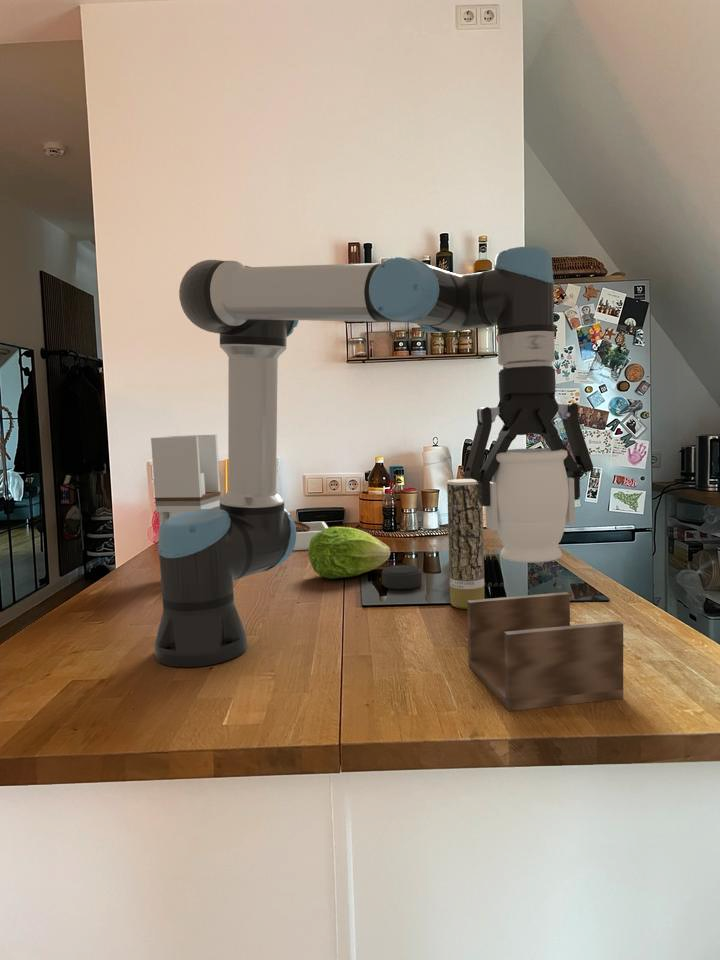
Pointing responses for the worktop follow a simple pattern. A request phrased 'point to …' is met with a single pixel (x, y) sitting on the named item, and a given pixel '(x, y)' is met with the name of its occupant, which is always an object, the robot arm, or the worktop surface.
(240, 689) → the worktop surface
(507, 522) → the jar
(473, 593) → the paper tube
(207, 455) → the display case
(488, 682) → the holder
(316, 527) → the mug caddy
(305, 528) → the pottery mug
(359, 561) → the lettuce
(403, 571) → the smart speaker
